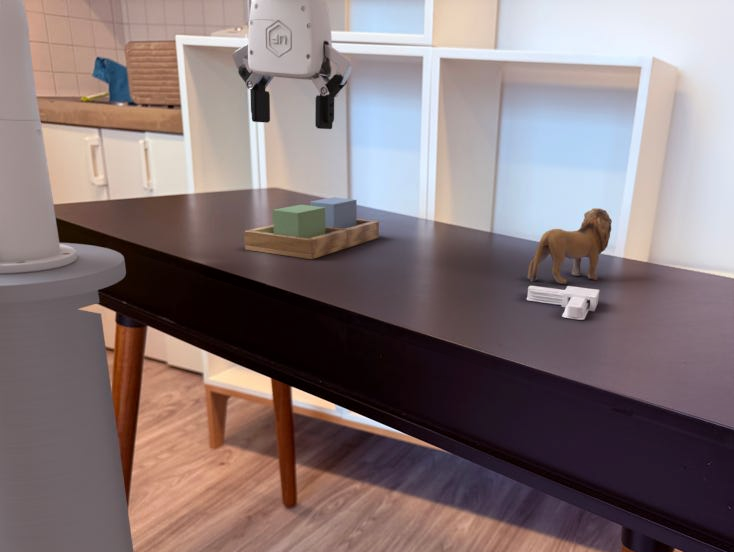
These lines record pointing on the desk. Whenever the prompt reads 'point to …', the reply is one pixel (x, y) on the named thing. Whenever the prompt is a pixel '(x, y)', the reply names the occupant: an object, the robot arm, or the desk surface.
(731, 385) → the desk surface
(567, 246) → the lion figurine
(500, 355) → the desk surface
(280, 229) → the pad
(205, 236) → the desk surface
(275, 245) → the tray
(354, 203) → the blue-grey block
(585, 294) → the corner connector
